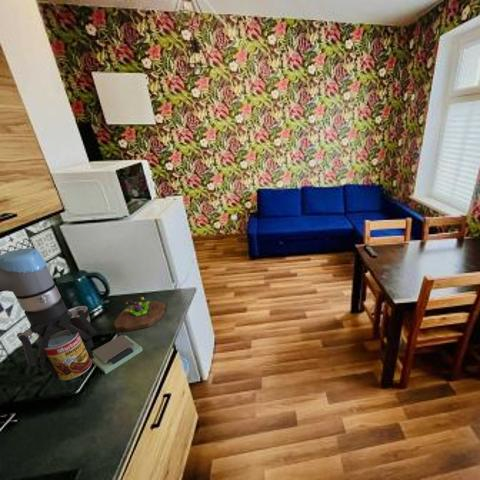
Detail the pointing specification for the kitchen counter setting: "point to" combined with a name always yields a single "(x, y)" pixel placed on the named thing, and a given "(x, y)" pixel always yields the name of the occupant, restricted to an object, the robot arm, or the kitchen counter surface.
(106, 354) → the scale pan
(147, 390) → the kitchen counter surface
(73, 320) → the coffee mug
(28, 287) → the robot arm
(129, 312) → the plant
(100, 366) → the scale
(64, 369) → the canned food
